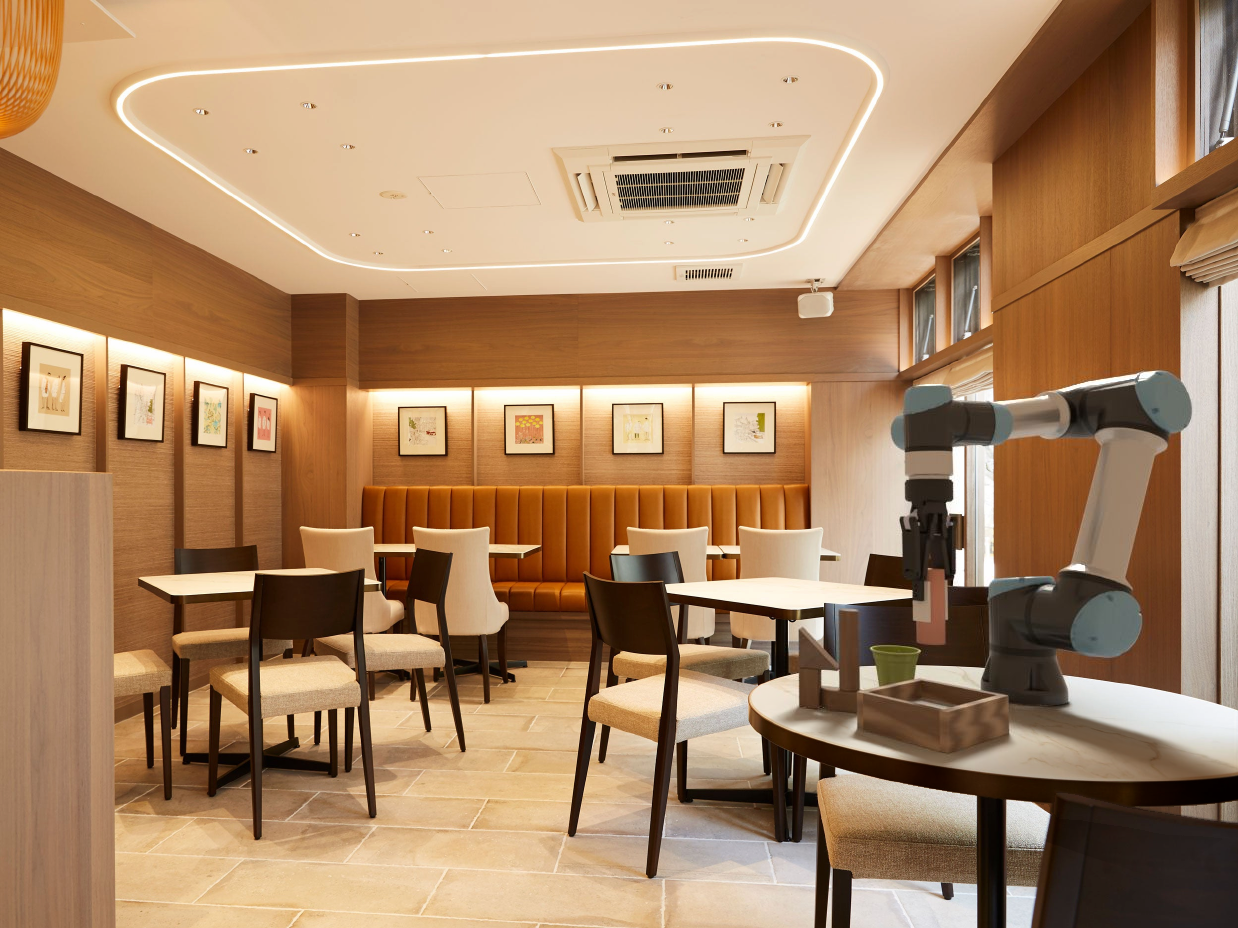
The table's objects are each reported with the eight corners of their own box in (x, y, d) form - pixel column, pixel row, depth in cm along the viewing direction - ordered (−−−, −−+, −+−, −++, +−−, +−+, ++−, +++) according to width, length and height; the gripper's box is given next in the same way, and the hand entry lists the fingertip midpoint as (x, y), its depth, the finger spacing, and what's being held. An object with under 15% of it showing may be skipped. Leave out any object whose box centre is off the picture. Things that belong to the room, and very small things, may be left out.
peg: (926, 639, 132) (925, 567, 132) (950, 643, 128) (949, 569, 129) (911, 641, 129) (910, 568, 130) (935, 645, 126) (934, 570, 126)
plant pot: (860, 691, 156) (859, 646, 156) (894, 686, 160) (894, 643, 161) (896, 701, 148) (896, 654, 148) (932, 696, 152) (931, 650, 152)
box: (920, 712, 140) (919, 677, 140) (1009, 733, 127) (1008, 695, 127) (857, 728, 129) (856, 691, 129) (947, 753, 116) (946, 712, 117)
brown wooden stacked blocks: (802, 703, 146) (801, 605, 147) (862, 709, 142) (861, 609, 143) (798, 707, 143) (797, 607, 144) (859, 714, 138) (858, 611, 139)
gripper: (937, 480, 138) (939, 613, 137) (877, 477, 128) (878, 621, 127) (978, 479, 132) (980, 618, 131) (918, 475, 122) (920, 627, 121)
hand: (930, 619), depth 129 cm, fingers closed on peg, 4 cm apart
